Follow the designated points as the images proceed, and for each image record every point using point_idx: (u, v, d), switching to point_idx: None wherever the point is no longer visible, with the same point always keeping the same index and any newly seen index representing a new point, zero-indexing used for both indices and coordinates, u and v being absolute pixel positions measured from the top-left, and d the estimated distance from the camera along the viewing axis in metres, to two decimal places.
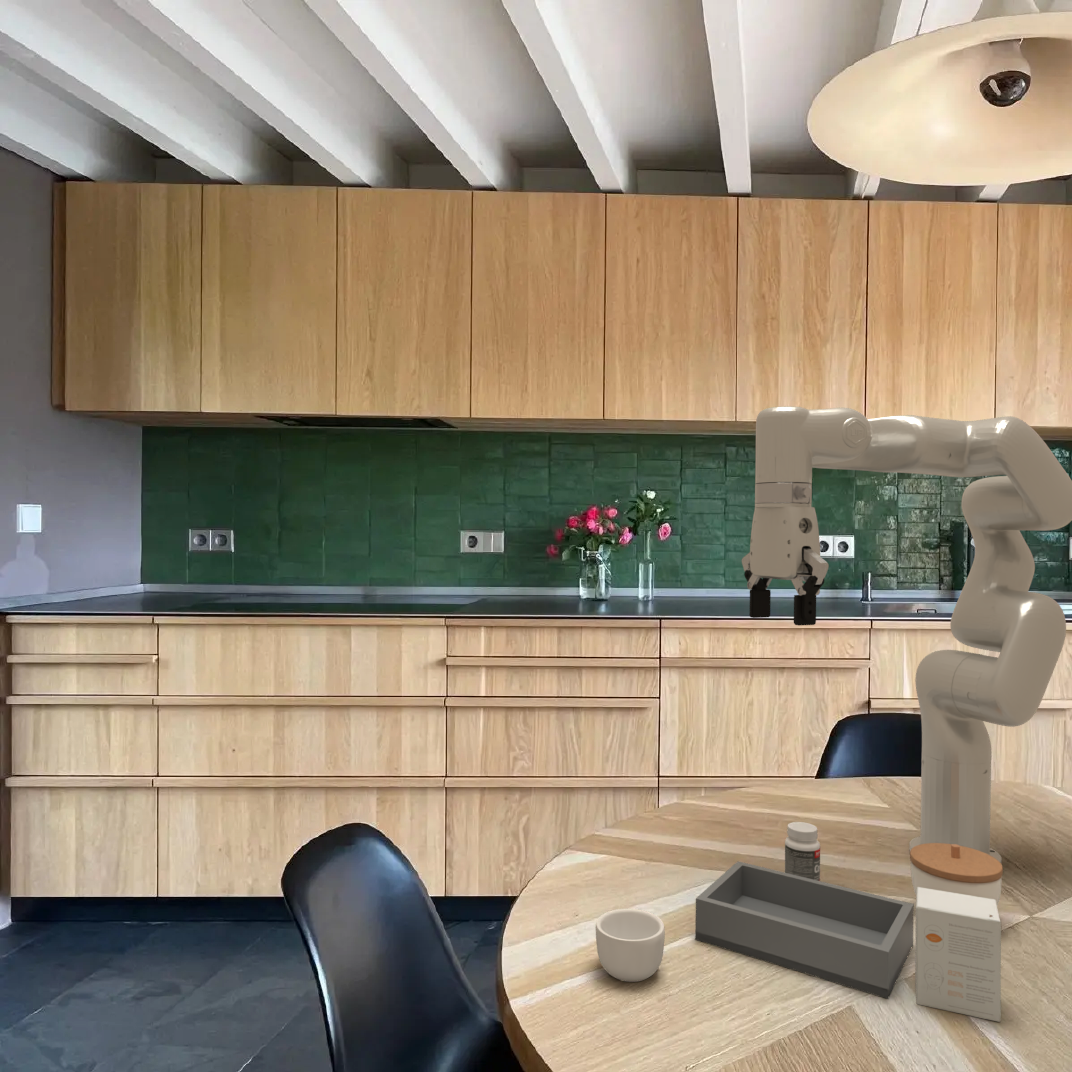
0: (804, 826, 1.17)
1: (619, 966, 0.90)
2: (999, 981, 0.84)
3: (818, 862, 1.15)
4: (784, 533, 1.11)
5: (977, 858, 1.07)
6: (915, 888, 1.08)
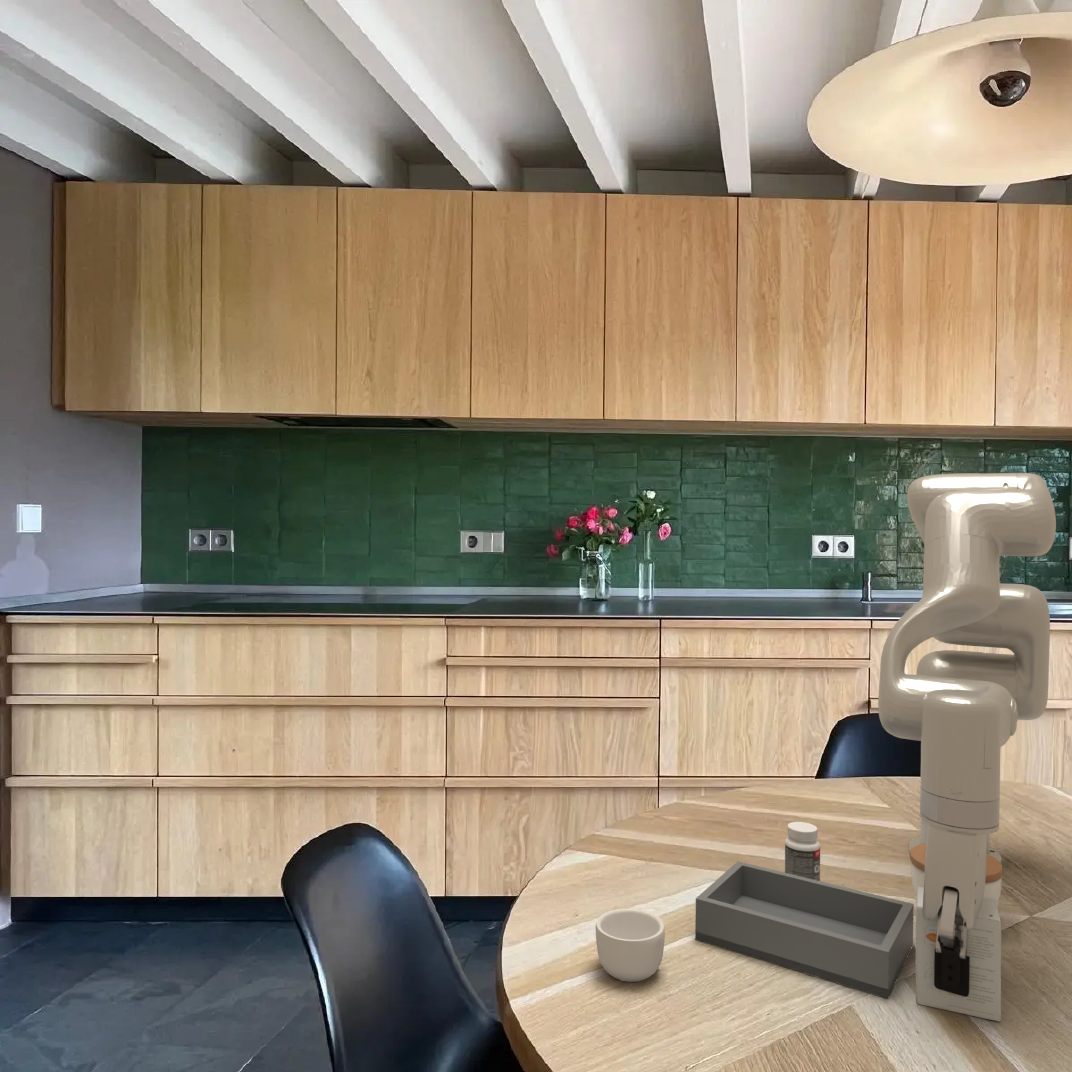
0: (804, 826, 1.17)
1: (619, 966, 0.90)
2: (999, 981, 0.84)
3: (818, 862, 1.15)
4: None
5: None
6: (915, 888, 1.08)
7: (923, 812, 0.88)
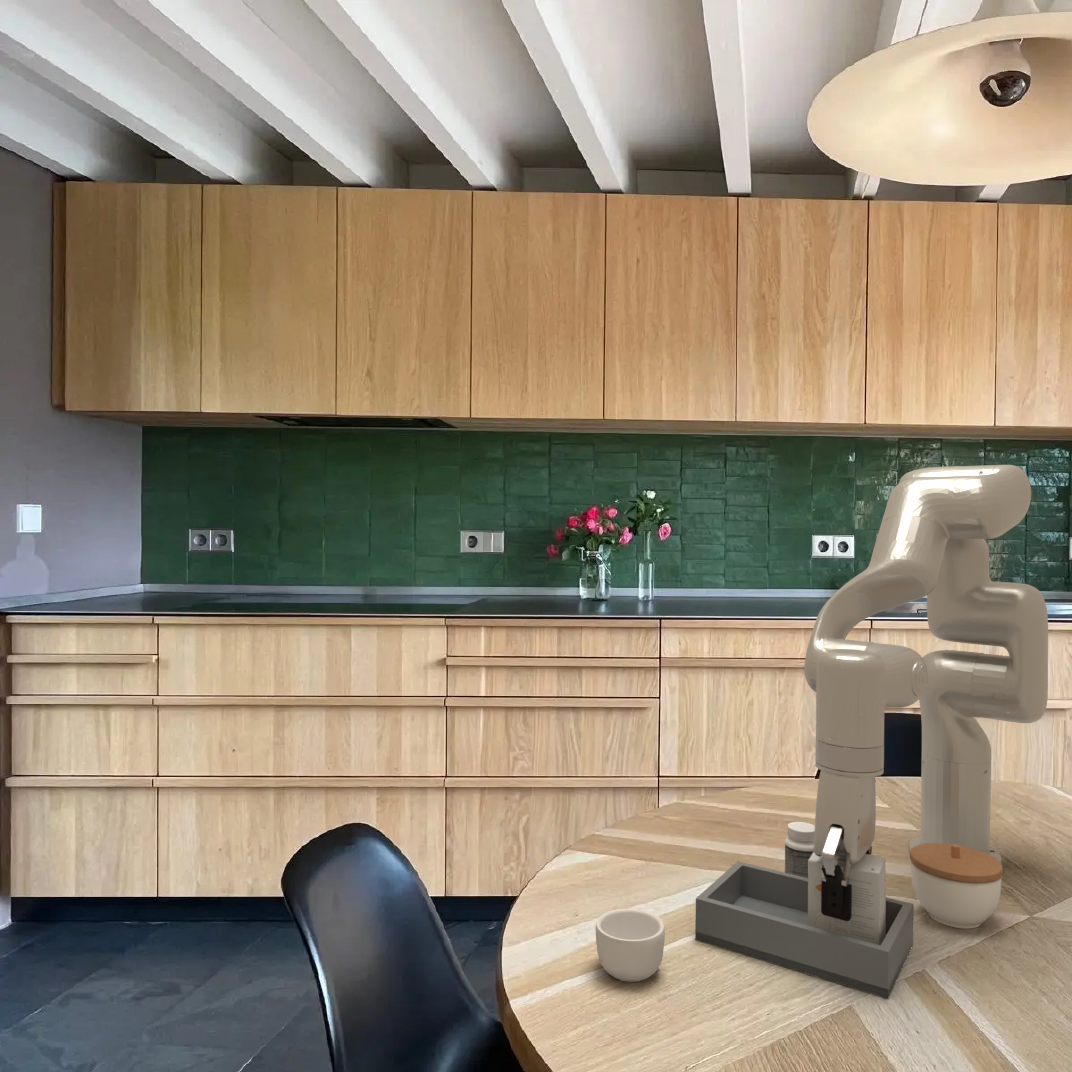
0: (804, 826, 1.17)
1: (619, 966, 0.90)
2: (878, 928, 0.93)
3: None
4: (875, 794, 0.99)
5: (977, 858, 1.07)
6: (915, 888, 1.08)
7: (817, 759, 0.98)
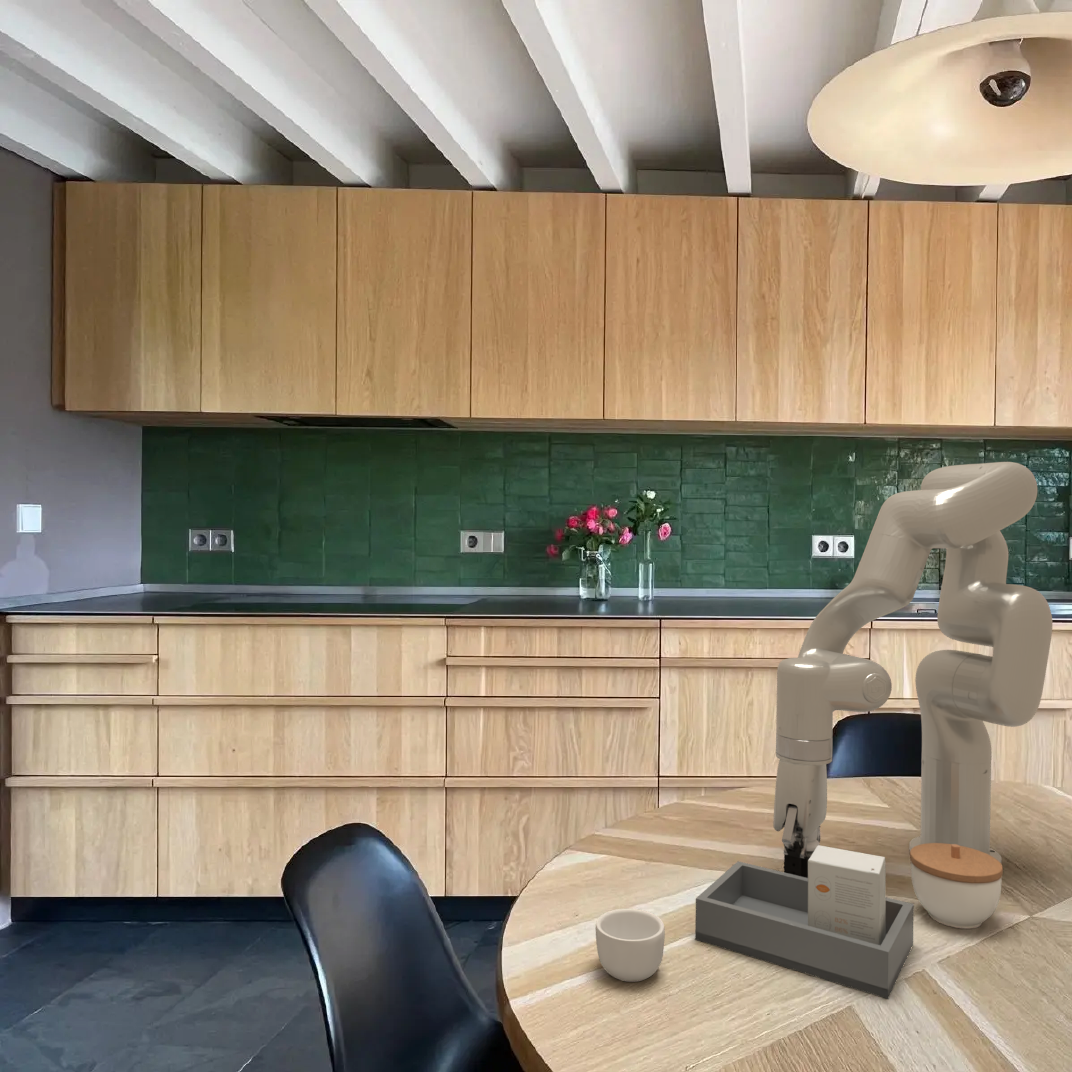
0: None
1: (619, 966, 0.90)
2: (878, 928, 0.93)
3: None
4: (826, 780, 1.18)
5: (977, 858, 1.07)
6: (915, 888, 1.08)
7: (777, 750, 1.17)
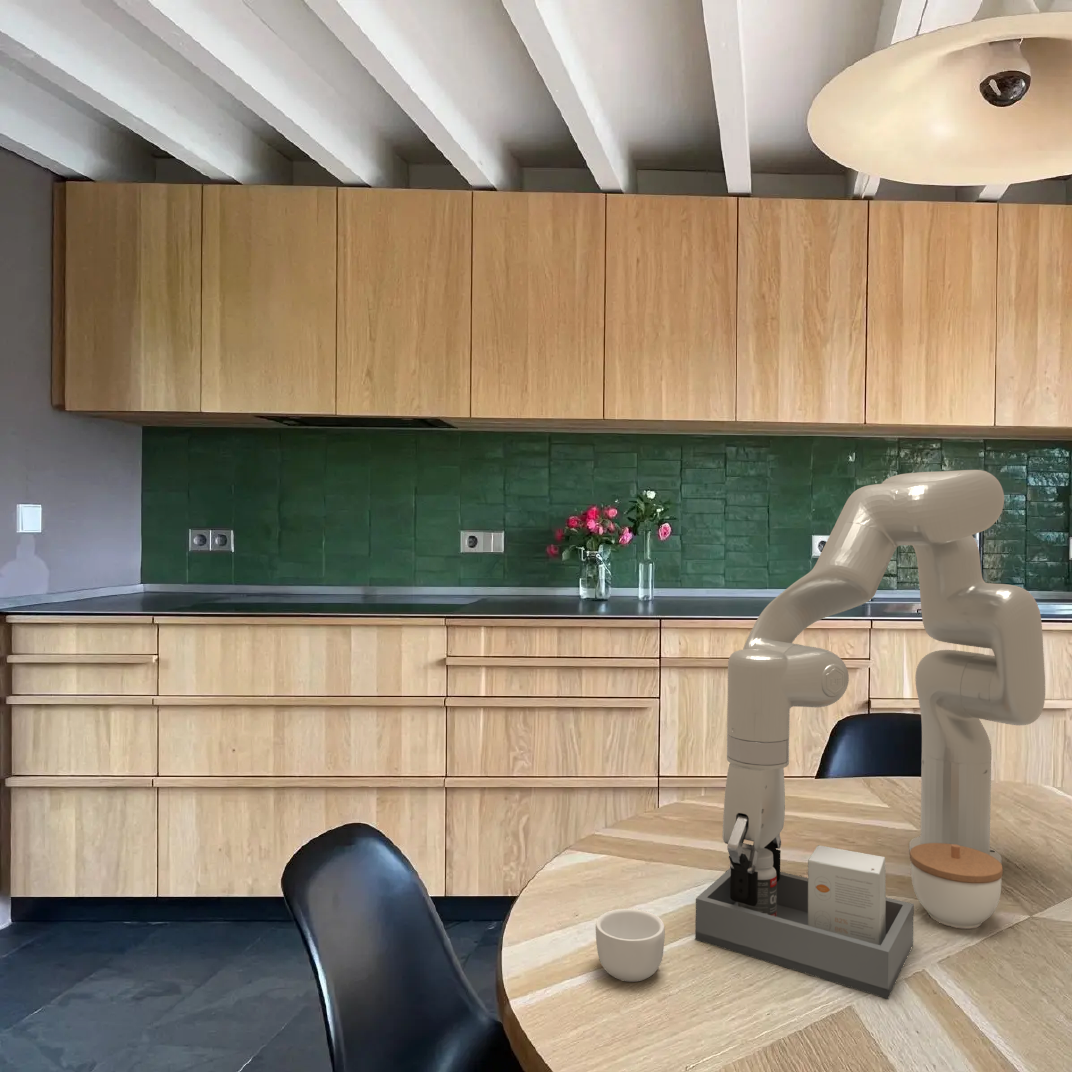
0: (758, 851, 1.04)
1: (619, 966, 0.90)
2: (878, 928, 0.93)
3: (774, 892, 1.03)
4: (783, 786, 1.05)
5: (977, 858, 1.07)
6: (915, 888, 1.08)
7: (727, 753, 1.04)
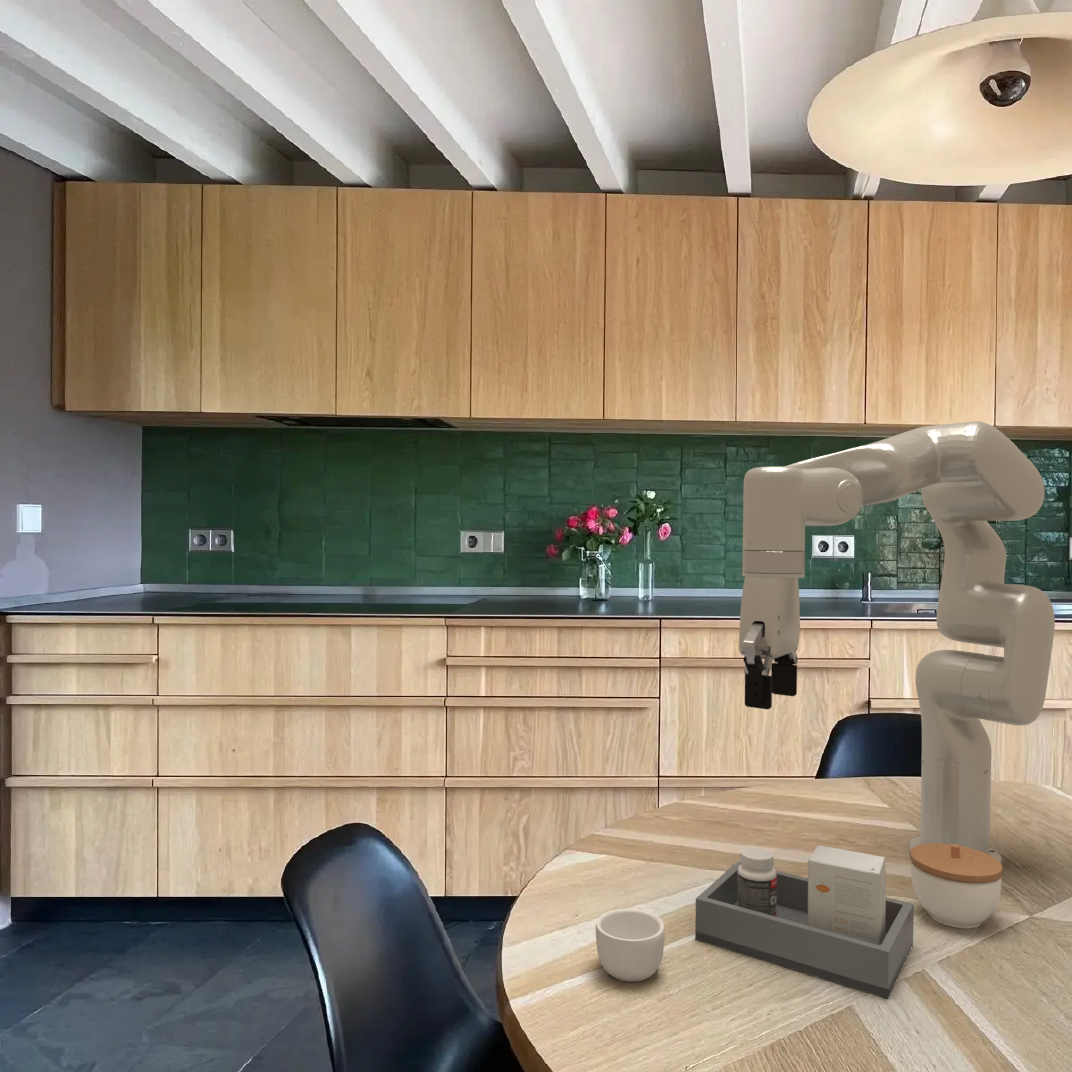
0: (759, 852, 1.04)
1: (619, 966, 0.90)
2: (878, 928, 0.93)
3: (774, 893, 1.03)
4: (798, 604, 1.06)
5: (977, 858, 1.07)
6: (915, 888, 1.08)
7: (743, 569, 1.05)
